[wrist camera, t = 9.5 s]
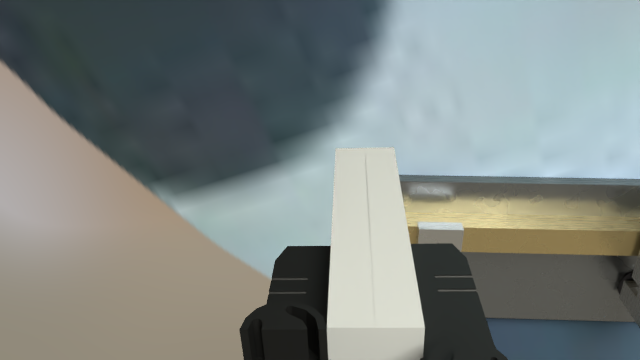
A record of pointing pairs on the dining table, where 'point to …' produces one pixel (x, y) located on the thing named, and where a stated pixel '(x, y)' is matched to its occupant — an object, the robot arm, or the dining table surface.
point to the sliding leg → (632, 293)
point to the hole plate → (537, 269)
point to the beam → (528, 233)
